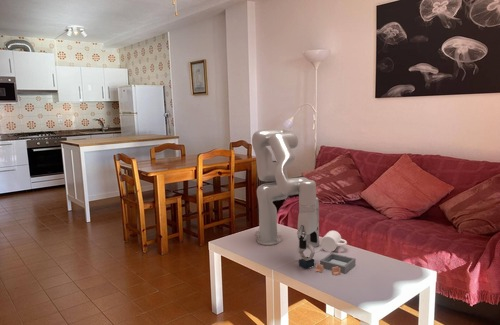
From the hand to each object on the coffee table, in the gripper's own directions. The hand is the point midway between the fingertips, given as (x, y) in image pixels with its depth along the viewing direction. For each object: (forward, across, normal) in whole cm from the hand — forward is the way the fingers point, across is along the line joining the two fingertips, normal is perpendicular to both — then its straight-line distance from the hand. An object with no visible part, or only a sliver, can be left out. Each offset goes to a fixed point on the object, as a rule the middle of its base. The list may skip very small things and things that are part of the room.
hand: (308, 245), depth 170 cm
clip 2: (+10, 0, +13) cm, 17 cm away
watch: (+10, 0, -1) cm, 10 cm away
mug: (+10, -26, 0) cm, 28 cm away
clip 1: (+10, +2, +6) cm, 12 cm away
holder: (+10, -8, +10) cm, 17 cm away
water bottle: (+10, -24, -13) cm, 29 cm away
